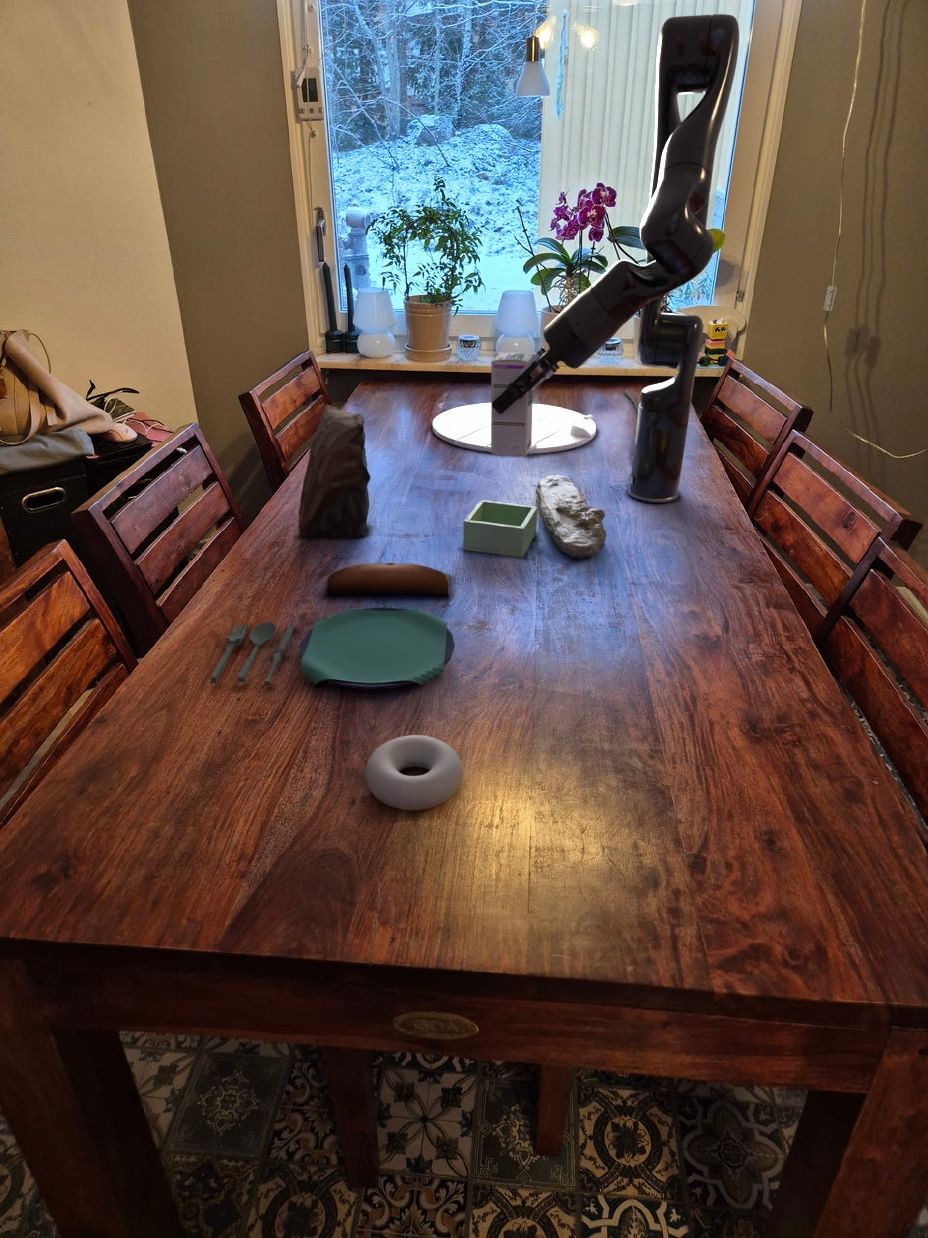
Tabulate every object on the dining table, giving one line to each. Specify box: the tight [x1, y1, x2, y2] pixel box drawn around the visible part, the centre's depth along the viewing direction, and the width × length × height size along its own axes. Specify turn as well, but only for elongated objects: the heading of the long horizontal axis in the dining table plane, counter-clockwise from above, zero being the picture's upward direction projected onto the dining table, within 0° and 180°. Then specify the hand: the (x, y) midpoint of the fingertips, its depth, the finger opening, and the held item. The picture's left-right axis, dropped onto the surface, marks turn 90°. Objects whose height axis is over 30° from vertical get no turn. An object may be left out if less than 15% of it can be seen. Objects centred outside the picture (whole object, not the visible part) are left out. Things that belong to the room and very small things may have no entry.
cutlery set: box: [209, 606, 456, 690], centre depth 105 cm, size 20×30×2 cm, turn 89°
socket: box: [462, 499, 538, 559], centre depth 137 cm, size 10×10×5 cm
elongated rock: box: [535, 474, 607, 558], centre depth 145 cm, size 35×5×10 cm
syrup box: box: [490, 352, 535, 457], centre depth 125 cm, size 6×6×14 cm
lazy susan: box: [432, 402, 597, 455], centre depth 195 cm, size 40×39×3 cm
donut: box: [364, 734, 464, 811], centre depth 83 cm, size 10×4×10 cm
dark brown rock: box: [297, 404, 372, 539], centre depth 138 cm, size 13×13×20 cm
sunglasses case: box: [326, 561, 450, 597], centre depth 122 cm, size 18×7×7 cm
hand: (501, 403), depth 126 cm, fingers closed on syrup box, 6 cm apart
